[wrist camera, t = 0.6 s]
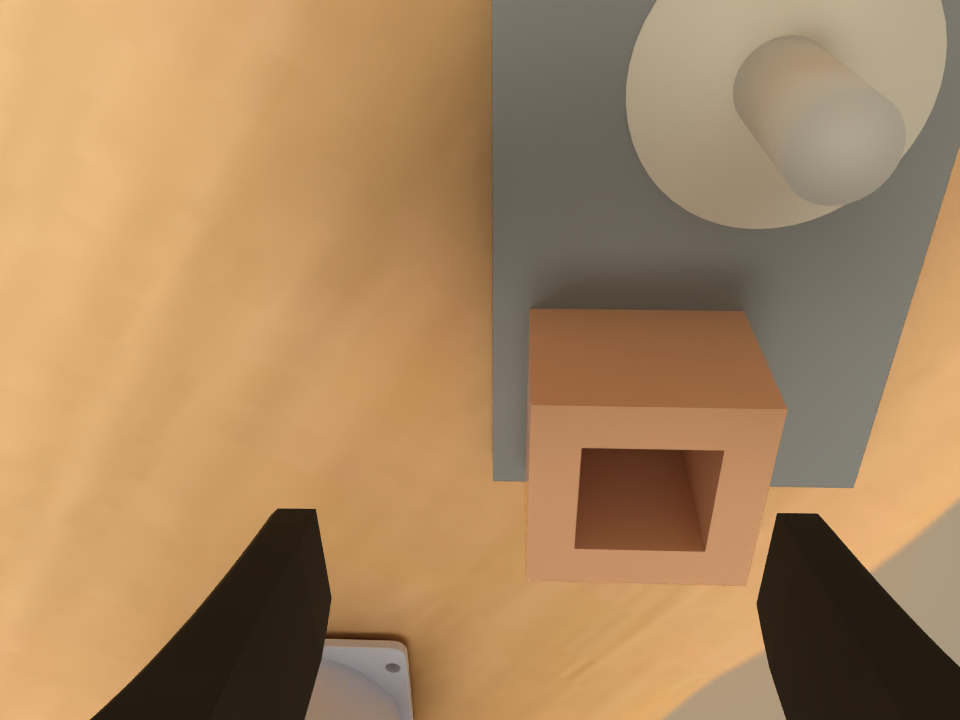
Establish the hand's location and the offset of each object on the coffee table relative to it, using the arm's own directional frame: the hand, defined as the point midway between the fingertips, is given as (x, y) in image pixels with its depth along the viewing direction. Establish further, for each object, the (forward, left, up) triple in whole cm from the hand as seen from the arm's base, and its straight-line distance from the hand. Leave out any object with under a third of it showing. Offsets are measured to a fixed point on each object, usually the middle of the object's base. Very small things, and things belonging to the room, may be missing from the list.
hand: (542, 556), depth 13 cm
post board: (+1, -4, -10) cm, 10 cm away
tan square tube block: (-3, -3, -9) cm, 9 cm away
